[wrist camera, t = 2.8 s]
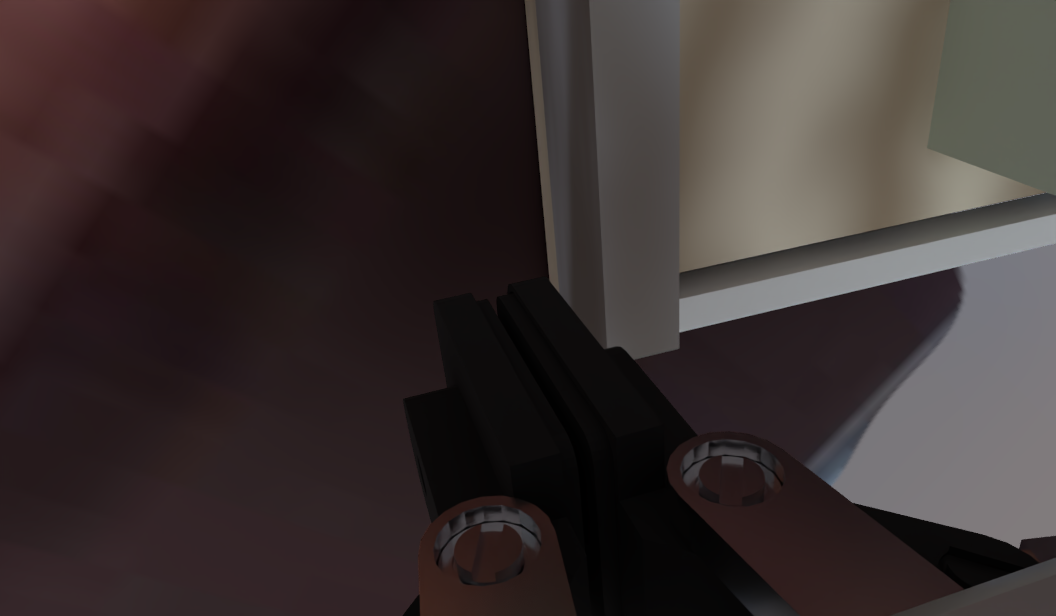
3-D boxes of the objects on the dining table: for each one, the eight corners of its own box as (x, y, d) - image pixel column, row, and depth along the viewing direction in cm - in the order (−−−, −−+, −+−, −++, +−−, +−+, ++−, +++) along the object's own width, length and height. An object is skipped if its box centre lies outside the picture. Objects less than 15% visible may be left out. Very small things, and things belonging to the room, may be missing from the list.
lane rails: (1345, -236, 24) (1409, -244, 23) (1201, 186, 31) (1244, 199, 29) (548, -160, 19) (569, -165, 18) (581, 327, 26) (598, 351, 24)
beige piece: (1256, -157, 24) (1464, -170, 20) (1160, 154, 29) (1312, 196, 25) (518, -69, 20) (585, -62, 15) (550, 285, 24) (607, 365, 20)
